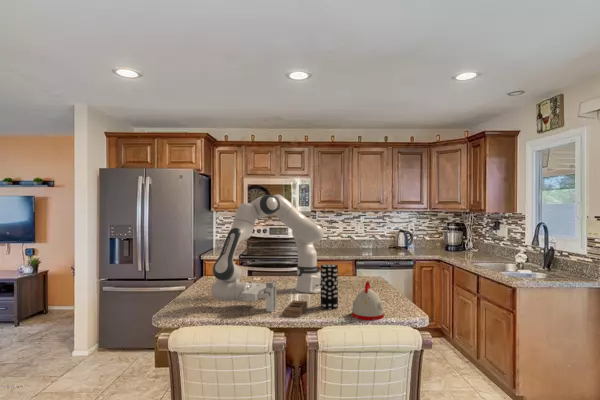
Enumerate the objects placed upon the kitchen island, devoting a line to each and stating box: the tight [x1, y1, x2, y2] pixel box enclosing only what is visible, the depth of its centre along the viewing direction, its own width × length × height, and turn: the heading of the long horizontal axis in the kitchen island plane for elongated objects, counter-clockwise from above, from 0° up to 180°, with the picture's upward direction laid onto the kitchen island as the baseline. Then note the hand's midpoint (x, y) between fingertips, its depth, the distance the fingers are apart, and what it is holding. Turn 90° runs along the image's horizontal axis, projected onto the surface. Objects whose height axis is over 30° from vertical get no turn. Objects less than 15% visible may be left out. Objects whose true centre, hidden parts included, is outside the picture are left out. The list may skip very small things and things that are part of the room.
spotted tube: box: [320, 263, 339, 310], centre depth 174 cm, size 8×8×20 cm
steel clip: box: [265, 280, 277, 313], centre depth 170 cm, size 6×3×13 cm, turn 167°
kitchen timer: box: [351, 281, 385, 321], centre depth 161 cm, size 14×14×15 cm
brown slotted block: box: [283, 299, 308, 318], centre depth 167 cm, size 16×7×3 cm, turn 167°
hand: (271, 293), depth 170 cm, fingers open, 8 cm apart
